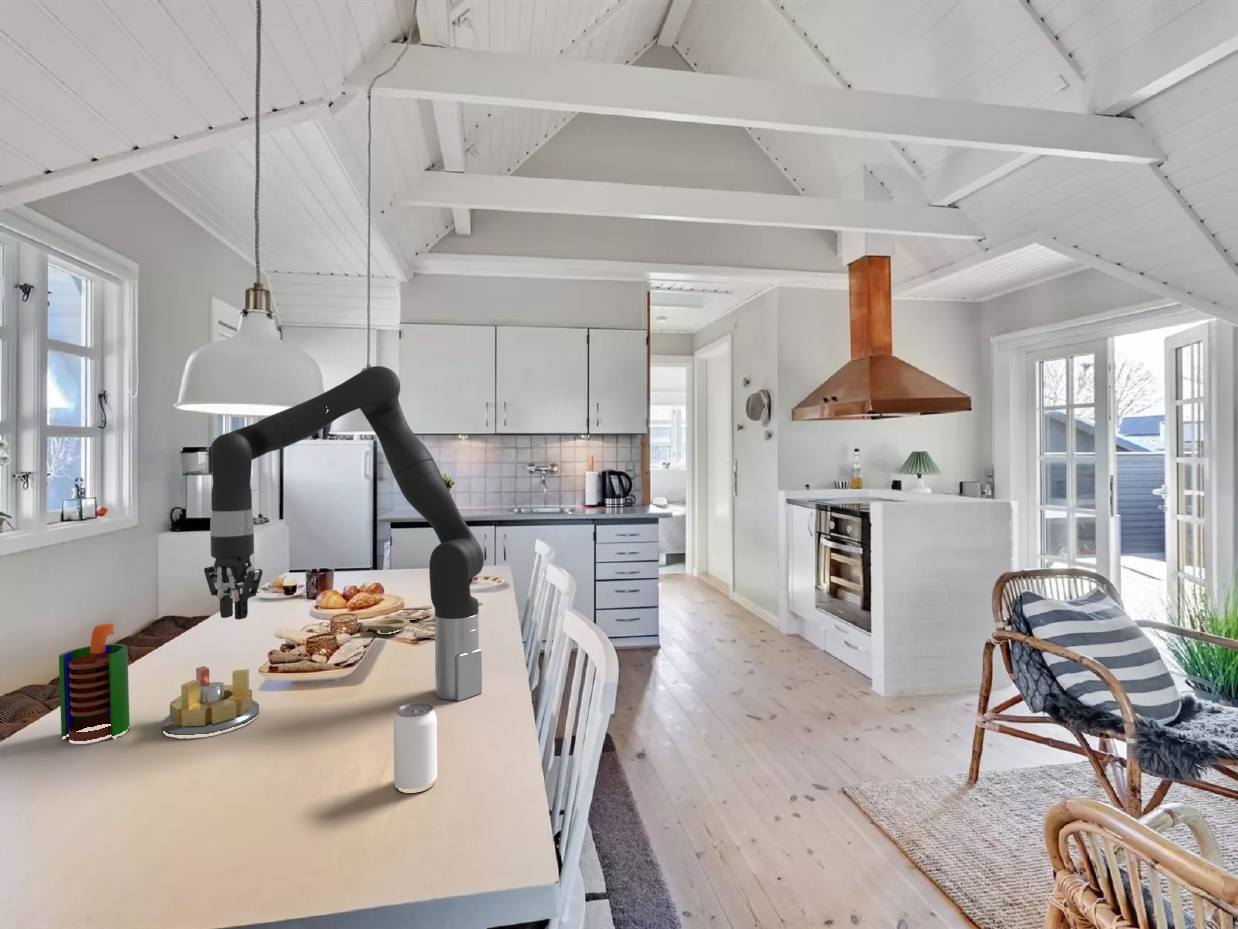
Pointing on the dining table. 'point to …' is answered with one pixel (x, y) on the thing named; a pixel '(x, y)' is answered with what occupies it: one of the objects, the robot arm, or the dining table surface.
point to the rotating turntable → (209, 695)
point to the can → (415, 745)
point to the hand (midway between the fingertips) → (233, 617)
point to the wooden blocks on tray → (197, 714)
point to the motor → (94, 688)
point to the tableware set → (402, 623)
